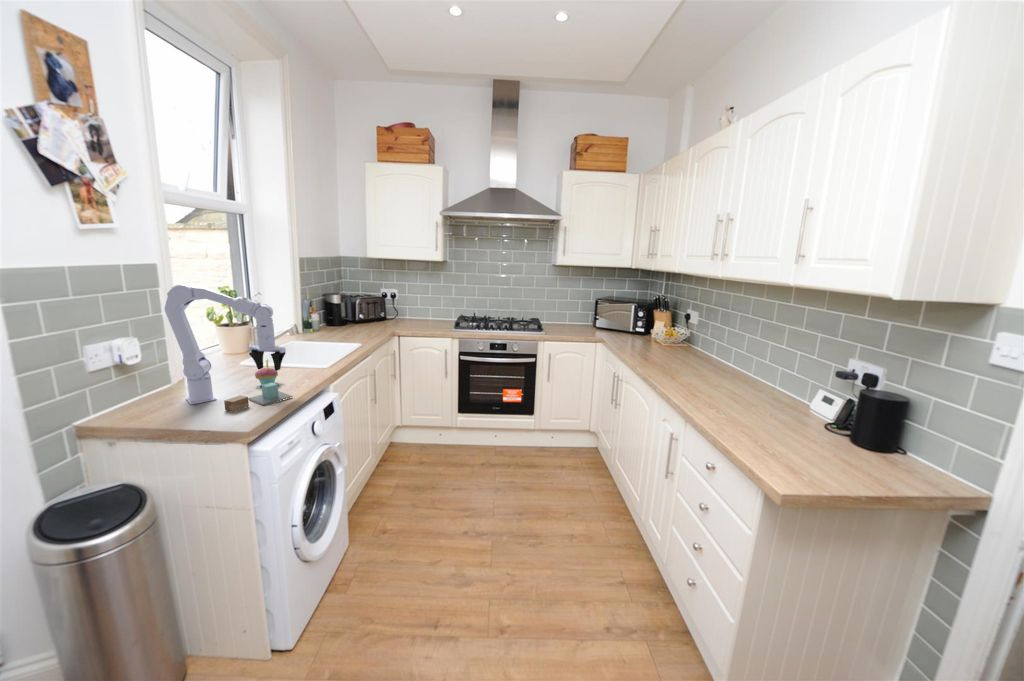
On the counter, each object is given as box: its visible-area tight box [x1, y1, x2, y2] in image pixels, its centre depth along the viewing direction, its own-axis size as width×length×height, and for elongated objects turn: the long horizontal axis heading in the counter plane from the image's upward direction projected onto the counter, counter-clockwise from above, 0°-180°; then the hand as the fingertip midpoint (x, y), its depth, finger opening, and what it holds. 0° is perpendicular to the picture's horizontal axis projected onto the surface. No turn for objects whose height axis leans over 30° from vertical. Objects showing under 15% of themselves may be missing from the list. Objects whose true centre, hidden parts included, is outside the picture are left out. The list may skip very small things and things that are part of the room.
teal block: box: [261, 382, 279, 399], centre depth 157 cm, size 4×4×5 cm
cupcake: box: [254, 358, 279, 386], centre depth 174 cm, size 9×8×12 cm
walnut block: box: [223, 394, 250, 413], centre depth 147 cm, size 4×6×4 cm, turn 162°
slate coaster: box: [248, 390, 293, 406], centre depth 158 cm, size 11×11×1 cm
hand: (269, 369), depth 161 cm, fingers open, 7 cm apart
